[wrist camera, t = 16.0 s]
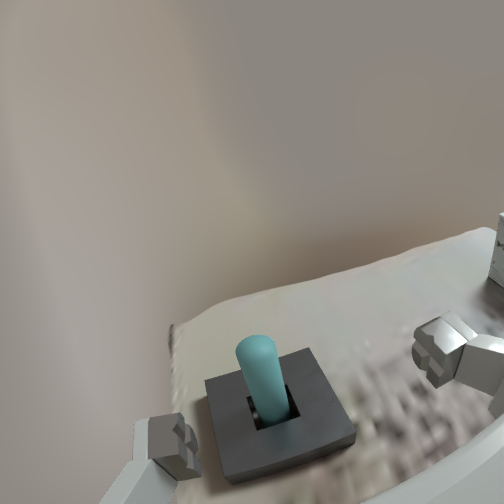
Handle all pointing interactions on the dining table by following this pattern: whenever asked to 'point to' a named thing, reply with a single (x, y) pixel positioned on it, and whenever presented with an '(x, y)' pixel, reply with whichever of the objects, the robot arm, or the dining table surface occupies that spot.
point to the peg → (264, 379)
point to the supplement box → (498, 254)
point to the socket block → (281, 435)
